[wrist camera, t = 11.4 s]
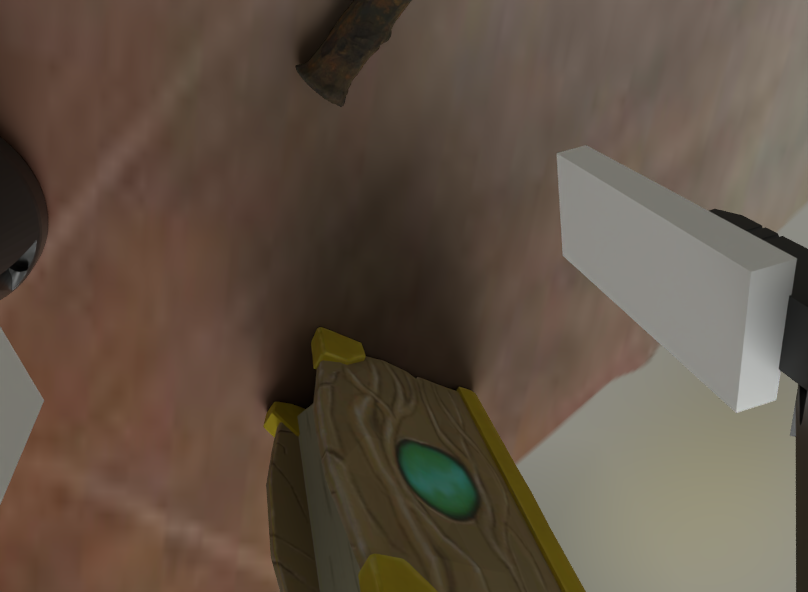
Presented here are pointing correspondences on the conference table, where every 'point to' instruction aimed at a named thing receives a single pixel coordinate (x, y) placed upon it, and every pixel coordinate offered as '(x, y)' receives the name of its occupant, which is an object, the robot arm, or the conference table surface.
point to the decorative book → (399, 488)
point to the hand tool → (350, 47)
